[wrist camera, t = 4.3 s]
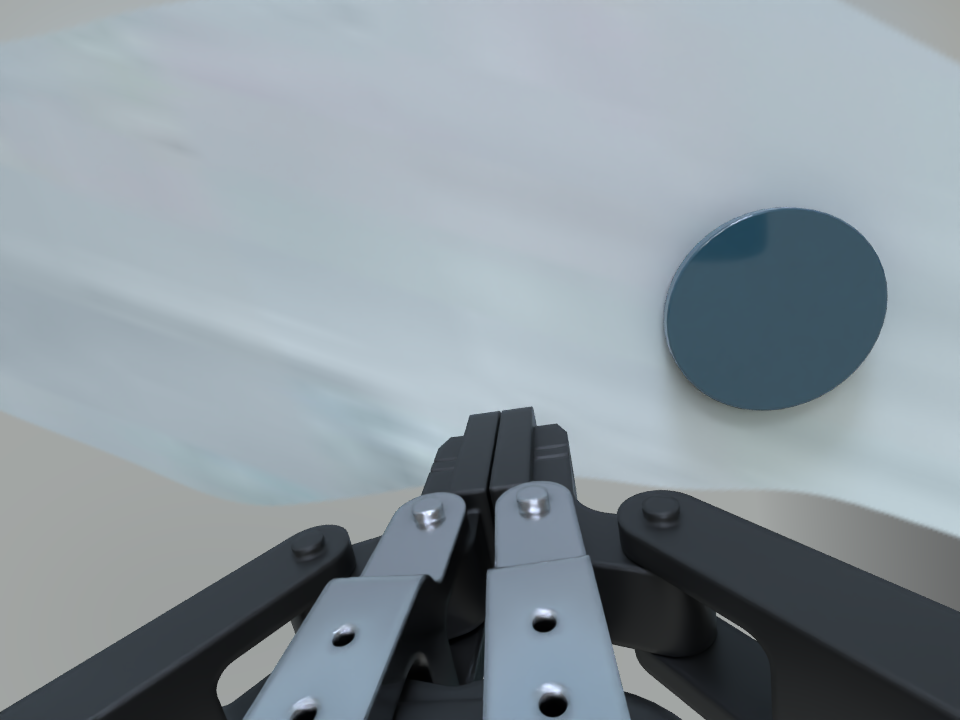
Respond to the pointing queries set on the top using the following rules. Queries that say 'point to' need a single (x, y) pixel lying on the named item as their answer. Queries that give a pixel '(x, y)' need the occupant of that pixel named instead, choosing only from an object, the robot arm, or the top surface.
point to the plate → (775, 308)
